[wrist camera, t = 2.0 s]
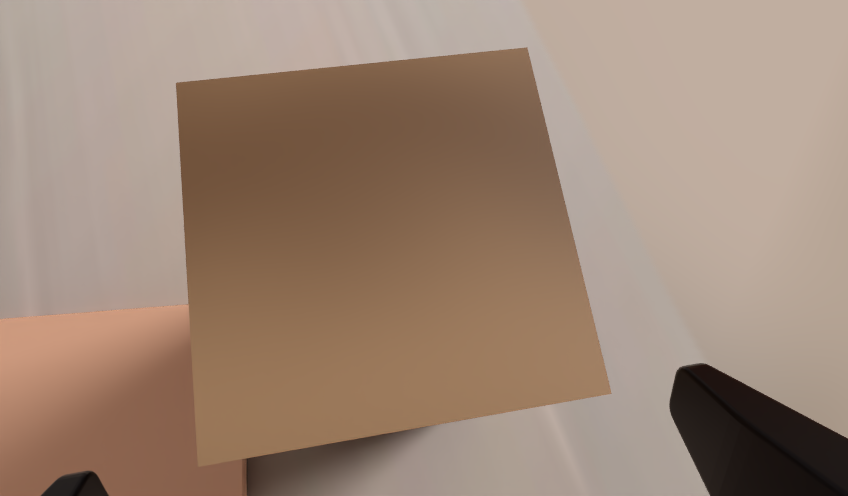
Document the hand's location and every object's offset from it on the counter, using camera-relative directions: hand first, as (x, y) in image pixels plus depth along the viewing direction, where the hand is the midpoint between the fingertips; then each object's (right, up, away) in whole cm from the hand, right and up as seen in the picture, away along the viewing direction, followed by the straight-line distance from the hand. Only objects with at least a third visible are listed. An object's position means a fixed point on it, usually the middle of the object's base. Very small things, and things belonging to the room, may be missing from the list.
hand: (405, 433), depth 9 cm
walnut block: (-1, 0, +10) cm, 10 cm away
